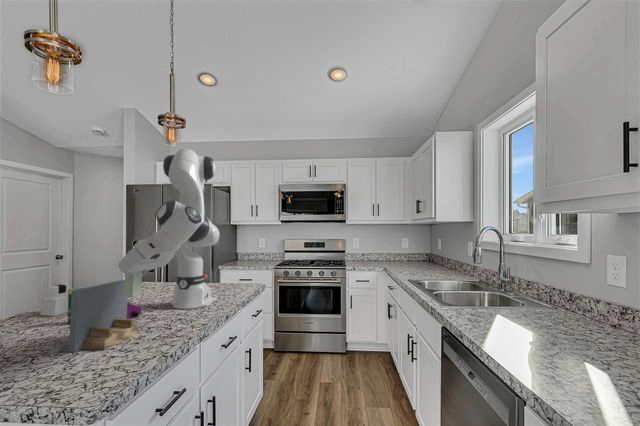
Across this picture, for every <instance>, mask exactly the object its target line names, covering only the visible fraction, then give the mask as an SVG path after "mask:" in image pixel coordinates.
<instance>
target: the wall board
mask: <svg viewBox="0 0 640 426" xmlns="http://www.w3.org/2000/svg"><path fill="white" fill-rule="evenodd" d="M124 288H125V279H121V280H116V281H112V282H107V283H102V284H97V285H94V286H93V285H91V286H88V287H83V288H82V289H80V288H77V289H78V290H73V291H72V298H71V318H70V325H69V339H68V341H66V342H63V343H60V345H59V352H63V353H64V352H65V353H66V352H67V353H77V352H78V351H81V350H83V349H85V348H84V338H87V337H89V336H90V333H91V328H93V327H101V328H112V327H114V320H115V319H127V302H128V298H129V297H124ZM76 351H77V352H76Z"/></svg>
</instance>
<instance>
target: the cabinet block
mask: <svg viewBox="0 0 640 426" xmlns="http://www.w3.org/2000/svg"><path fill="white" fill-rule="evenodd" d="M133 275H134V276H133V277H132V278H130V279H126V278H125V277H124V280H125V288H124V297H128V298H133V297H137V296H141V295H142V283H143V281H142V280H143V276H142V271H137V272H135V273H133Z"/></svg>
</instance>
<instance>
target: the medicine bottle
mask: <svg viewBox="0 0 640 426" xmlns="http://www.w3.org/2000/svg"><path fill="white" fill-rule="evenodd" d="M46 295H47V296H46V297H45V296H44V297H41V300H40V316H44V317H45V316H47V317H50V316H51V317H56V316H60V315H63V314H64V315H65V314H68V294H67V285H66V284H53V285H49V286H48V287H47V294H46Z"/></svg>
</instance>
